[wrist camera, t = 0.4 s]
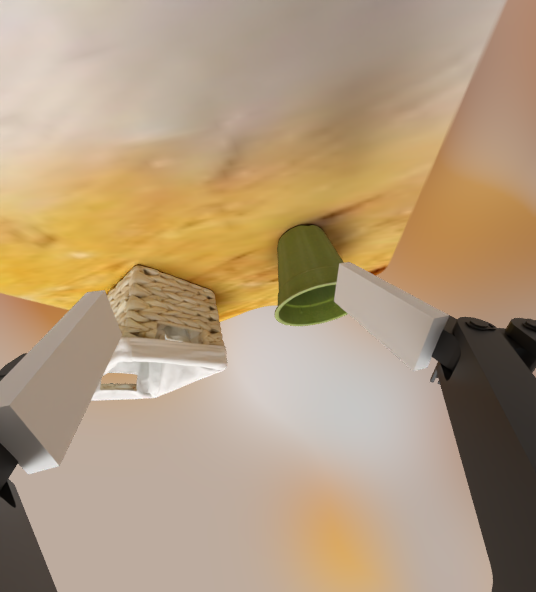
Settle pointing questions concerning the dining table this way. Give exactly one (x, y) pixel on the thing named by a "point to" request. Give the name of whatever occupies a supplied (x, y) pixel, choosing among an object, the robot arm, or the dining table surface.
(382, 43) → the dining table surface
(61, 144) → the dining table surface
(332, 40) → the dining table surface
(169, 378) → the storage basket
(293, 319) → the plant pot
